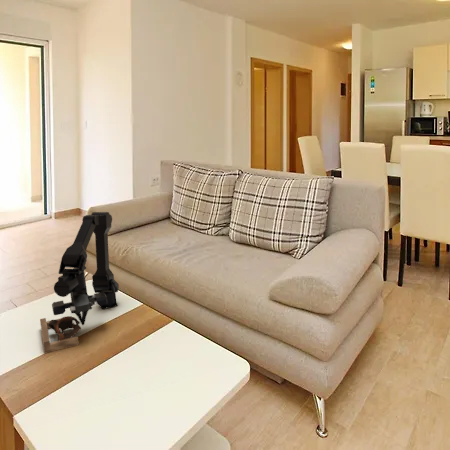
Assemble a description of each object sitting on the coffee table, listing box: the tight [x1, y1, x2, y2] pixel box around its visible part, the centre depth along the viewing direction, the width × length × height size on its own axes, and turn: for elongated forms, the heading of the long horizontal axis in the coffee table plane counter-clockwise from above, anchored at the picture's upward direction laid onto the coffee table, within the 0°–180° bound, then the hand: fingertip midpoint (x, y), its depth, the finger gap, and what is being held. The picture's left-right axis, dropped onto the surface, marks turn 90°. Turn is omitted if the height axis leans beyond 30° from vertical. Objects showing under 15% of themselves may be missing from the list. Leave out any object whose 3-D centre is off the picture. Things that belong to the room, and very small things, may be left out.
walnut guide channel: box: [39, 315, 80, 354], centre depth 152 cm, size 11×19×4 cm, turn 26°
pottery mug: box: [49, 315, 82, 341], centre depth 152 cm, size 12×10×8 cm
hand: (83, 324), depth 155 cm, fingers closed
